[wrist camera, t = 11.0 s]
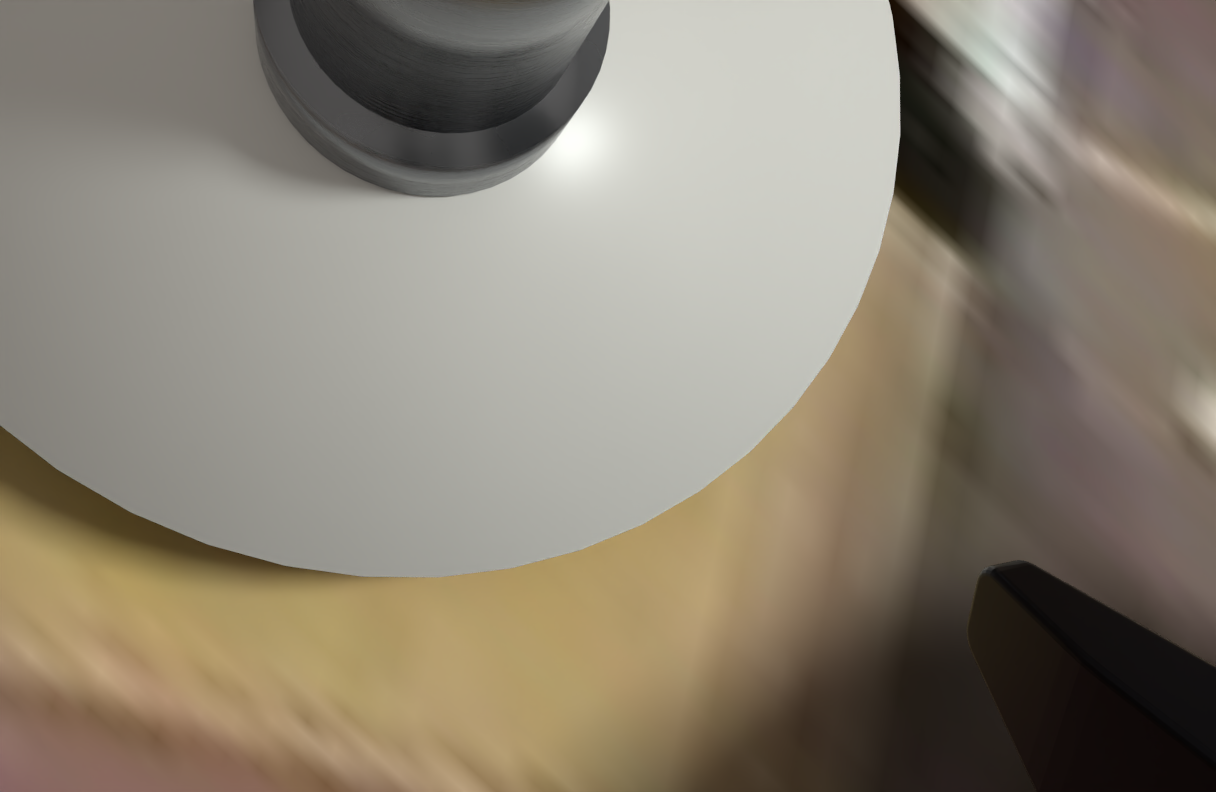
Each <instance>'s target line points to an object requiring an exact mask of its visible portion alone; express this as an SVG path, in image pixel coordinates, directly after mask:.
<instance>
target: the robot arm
mask: <svg viewBox="0 0 1216 792" xmlns="http://www.w3.org/2000/svg"><path fill="white" fill-rule="evenodd" d="M967 638H968V643H969V646H970V649H971V652H972V654H973V657H974V659H975V661H976V663H977V665H978V667H979V670H980V672H981V674H982V676H983V678H984V680H985V683H986V685H987V687H988V689H989V691H990V693H991V696H992V698H993V700H994V702H995V704H996V706H997V709H998V711H999V713H1000V715H1001V717H1002V720H1003V722H1004V724H1005V726H1006V728H1007V730H1008V733H1009V735H1010V737H1011V739H1012V741H1013V743H1014V746H1015V748H1016V750H1017V752H1018V754H1019V756H1020V759H1021V761H1022V763H1023V765H1024V767H1025V769H1026V772H1027V774H1028V776H1029V778H1030V780H1031V782H1032V784H1033V786H1034V788H1035V790H1036V792H1216V666H1214V665H1212V664H1211V663H1209V662H1207V661H1205V660H1203V659H1202V658H1200V657H1198V656H1196V655H1194V654H1193V653H1191V652H1189V651H1187V650H1186V649H1184V648H1182V647H1180V646H1178V645H1177V644H1175V643H1173V642H1171V641H1169V640H1168V639H1166V638H1164V637H1162V636H1161V635H1159V634H1157V633H1155V632H1153V631H1152V630H1150V629H1148V628H1146V627H1144V626H1143V625H1141V624H1139V623H1137V622H1136V621H1134V620H1132V619H1130V618H1128V617H1127V616H1125V615H1123V614H1121V613H1119V612H1118V611H1116V610H1114V609H1112V608H1111V607H1109V606H1107V605H1105V604H1103V603H1102V602H1100V601H1098V600H1096V599H1094V598H1093V597H1091V596H1089V595H1087V594H1086V593H1084V592H1082V591H1080V590H1078V589H1077V588H1075V587H1073V586H1071V585H1069V584H1068V583H1066V582H1064V581H1062V580H1061V579H1059V578H1057V577H1055V576H1053V575H1052V574H1050V573H1048V572H1046V571H1044V570H1043V569H1041V568H1039V567H1037V566H1036V565H1034V564H1031V563H1029V562H1026V561H1021V560H1017V561H1011V562H1006V563H1002V564H997V565H992V566H988V567H986V568H984V569H983V570H982V572H981V573H980V574H979V576H978V579H977V584H976V588H975V592H974V597H973V601H972V606H971V610H970V614H969V619H968V623H967Z"/></svg>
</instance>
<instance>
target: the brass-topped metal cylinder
mask: <svg viewBox="0 0 1216 792" xmlns="http://www.w3.org/2000/svg"><path fill="white" fill-rule="evenodd" d="M253 6H254V19H255V32H256V44H257V49H258V53H259V58H260V63H261V66H262V69H263V72H264V75H265V77H266V80H267V83H268V86H269V88H270V90H271V92H272V93H273V95H274V97H275V99H276V101H277V103H278V105H279V107H280V108H281V110H282V111H283V112H284V114H285V115H286V117H287V118H288V120H289V121H290V123H291V124H292V125H293V126H294V128H295V129H296V130H297V131H298V132H299V133H300V134H301V135H302V136H303V138H304V139H305V140H306V141H307V142H308V143H309V144H310V145H311V146H313V147H314V148H315V149H316V150H317V151H318V152H319V153H321V154H322V155H323V156H324V157H325V158H327V159H328V160H330V161H331V162H333V163H334V164H335V165H337V166H338V167H340V168H341V169H343V170H344V171H346V172H348V173H350V174H352V175H354V176H356V177H358V178H360V179H362V180H364V181H366V182H369V183H371V184H374V185H377V186H380V187H382V188H385V189H389V190H393V191H397V192H401V193H405V194H412V195H421V196H455V195H462V194H469V193H474V192H477V191H481V190H484V189H488V188H491V187H494V186H496V185H498V184H500V183H503V182H505V181H507V180H509V179H511V178H513V177H514V176H516V175H518V174H519V173H521V172H523V171H524V170H526V169H527V168H528V167H530V166H531V165H532V164H533V163H534V162H536V161H537V160H538V159H539V158H540V157H542V156H543V154H544V153H545V152H546V151H547V150H548V149H549V148H550V147H551V145H552V144H553V143H554V142H555V141H556V139H557V138H558V137H559V135H560V134H561V132H562V131H563V130H564V128H565V127H566V125H567V124H568V123H569V121H570V120H571V118H572V117H573V116H574V114H575V113H576V111H577V110H578V109H579V107H580V106H581V104H582V103H583V101H584V100H585V98H586V97H587V95H588V94H589V92H590V91H591V89H592V87H593V85H594V83H595V80H596V78H597V76H598V74H599V72H600V69H601V66H602V63H603V60H604V56H605V53H606V49H607V43H608V37H609V31H610V3H609V0H253Z"/></svg>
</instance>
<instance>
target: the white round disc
mask: <svg viewBox="0 0 1216 792" xmlns="http://www.w3.org/2000/svg"><path fill="white" fill-rule="evenodd" d="M609 3H610V31H609V37H608V43H607V49H606V53H605V56H604V60H603V63H602V66H601V69H600V72H599V74H598V76H597V78H596V80H595V83H594V85H593V87H592V89H591V91H590V92H589V94H588V95H587V97H586V98H585V100H584V101H583V103H582V104H581V106H580V107H579V109H578V110H577V111H576V113H575V114H574V116H573V117H572V118H571V120H570V121H569V123H568V124H567V125H566V127H565V128H564V130H563V131H562V132H561V134H560V135H559V137H558V138H557V139H556V141H555V142H554V143H553V144H552V145H551V147H550V148H549V149H548V150H547V151H546V152H545V153H544V154H543V156H542V157H540V158H539V159H538V160H537V161H536V162H534V163H533V164H532V165H531V166H530V167H528V168H527V169H526V170H524V171H523V172H521V173H519V174H518V175H516V176H514V177H513V178H511V179H509V180H507V181H505V182H503V183H500V184H498V185H496V186H494V187H491V188H488V189H484V190H481V191H477V192H474V193H469V194H462V195H455V196H421V195H412V194H405V193H401V192H397V191H393V190H389V189H385V188H382V187H380V186H377V185H374V184H371V183H369V182H366V181H364V180H362V179H360V178H358V177H356V176H354V175H352V174H350V173H348V172H346V171H344V170H343V169H341V168H340V167H338V166H337V165H335V164H334V163H333V162H331V161H330V160H328V159H327V158H325V157H324V156H323V155H322V154H321V153H319V152H318V151H317V150H316V149H315V148H314V147H313V146H311V145H310V144H309V143H308V142H307V141H306V140H305V139H304V138H303V136H302V135H301V134H300V133H299V132H298V131H297V130H296V129H295V128H294V126H293V125H292V124H291V123H290V121H289V120H288V118H287V117H286V115H285V114H284V112H283V111H282V110H281V108H280V107H279V105H278V103H277V101H276V99H275V97H274V95H273V93H272V92H271V90H270V88H269V86H268V83H267V80H266V77H265V75H264V72H263V69H262V66H261V63H260V58H259V53H258V49H257V44H256V32H255V19H254V6H253V0H0V426H2V427H3V428H4V429H6V430H7V431H8V432H9V433H11V434H12V435H13V436H15V437H16V438H17V439H18V440H20V441H21V442H22V443H24V444H25V445H26V446H28V447H29V448H30V449H31V450H33V451H34V452H35V453H37V454H38V455H39V456H40V457H42V458H43V459H44V460H46V461H47V462H48V463H49V464H51V465H52V466H53V467H55V468H56V469H57V470H59V471H61V472H62V473H64V474H66V475H67V476H69V477H71V478H73V479H74V480H76V481H78V482H79V483H81V484H83V485H85V486H86V487H88V488H90V489H91V490H93V491H95V492H97V493H98V494H100V495H102V496H103V497H105V498H107V499H109V500H110V501H112V502H114V503H115V504H117V505H119V506H121V507H122V508H124V509H126V510H127V511H129V512H131V513H133V514H136V515H138V516H141V517H143V518H145V519H148V520H150V521H152V522H155V523H157V524H160V525H162V526H164V527H167V528H169V529H172V530H174V531H176V532H179V533H181V534H183V535H186V536H188V537H191V538H193V539H195V540H198V541H200V542H203V543H205V544H207V545H211V546H215V547H218V548H222V549H226V550H229V551H233V552H237V553H240V554H244V555H247V556H251V557H255V558H258V559H262V560H266V561H269V562H273V563H277V564H280V565H284V566H290V567H297V568H304V569H311V570H319V571H326V572H333V573H340V574H347V575H354V576H362V577H445V576H453V575H461V574H469V573H477V572H485V571H493V570H501V569H509V568H514V567H518V566H522V565H526V564H530V563H533V562H537V561H541V560H545V559H549V558H552V557H556V556H560V555H564V554H568V553H571V552H575V551H579V550H582V549H584V548H587V547H589V546H591V545H594V544H596V543H599V542H601V541H604V540H606V539H608V538H611V537H613V536H616V535H618V534H621V533H623V532H625V531H628V530H630V529H633V528H635V527H637V526H640V525H642V524H644V523H646V522H648V521H649V520H651V519H653V518H654V517H656V516H658V515H660V514H661V513H663V512H665V511H666V510H668V509H670V508H672V507H673V506H675V505H677V504H678V503H680V502H682V501H684V500H685V499H687V498H689V497H691V496H692V495H694V494H696V493H697V492H699V491H700V490H702V489H703V488H704V487H706V486H707V485H708V484H709V483H711V482H712V481H713V480H715V479H716V478H717V477H718V476H720V475H721V474H722V473H724V472H725V471H726V470H727V469H729V468H730V467H731V466H732V465H734V464H735V463H736V462H738V461H739V460H740V459H741V458H743V457H744V456H745V455H747V454H748V453H749V452H750V451H751V450H752V449H753V448H754V447H755V446H756V445H757V444H758V443H759V442H760V441H761V440H762V439H763V438H764V437H765V436H766V435H767V434H768V433H769V432H770V431H771V430H772V429H773V428H774V426H775V425H776V424H777V423H778V422H779V421H780V420H781V419H782V418H783V417H784V416H785V415H786V414H787V413H788V412H789V411H790V410H791V409H792V408H793V407H794V405H795V404H796V403H797V401H798V400H799V399H800V397H801V396H802V395H803V393H804V392H805V390H806V389H807V388H808V386H809V385H810V384H811V382H812V381H813V380H814V378H815V377H816V376H817V374H818V373H819V371H820V370H821V369H822V367H823V366H824V365H825V363H826V362H827V361H828V359H829V358H830V356H831V354H832V352H833V350H834V349H835V347H836V345H837V343H838V341H839V339H840V338H841V336H842V334H843V332H844V330H845V328H846V327H847V325H848V323H849V321H850V319H851V318H852V316H853V314H854V312H855V310H856V308H857V307H858V304H859V302H860V299H861V297H862V294H863V291H864V289H865V286H866V284H867V281H868V278H869V276H870V273H871V271H872V268H873V265H874V263H875V260H876V258H877V255H878V253H879V250H880V246H881V242H882V237H883V233H884V229H885V225H886V221H887V217H888V213H889V209H890V205H891V201H892V197H893V192H894V183H895V174H896V166H897V157H898V148H899V140H900V74H899V66H898V58H897V50H896V42H895V34H894V26H893V18H892V13H891V9H890V5H889V1H888V0H609Z"/></svg>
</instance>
